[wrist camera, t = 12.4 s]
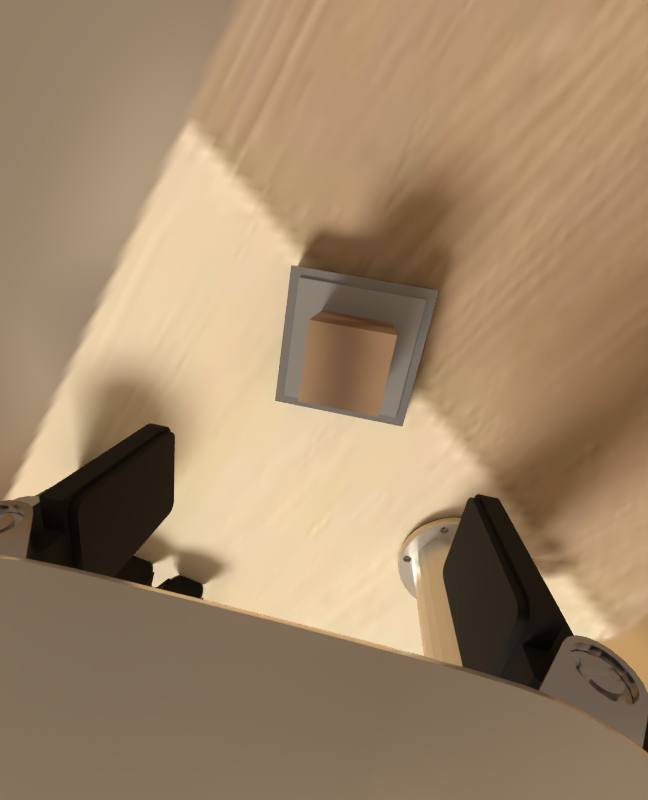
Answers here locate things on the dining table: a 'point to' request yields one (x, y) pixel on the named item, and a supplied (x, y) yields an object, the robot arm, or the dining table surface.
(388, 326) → the cube
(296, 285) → the tray
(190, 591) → the sunglasses
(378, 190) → the dining table surface
